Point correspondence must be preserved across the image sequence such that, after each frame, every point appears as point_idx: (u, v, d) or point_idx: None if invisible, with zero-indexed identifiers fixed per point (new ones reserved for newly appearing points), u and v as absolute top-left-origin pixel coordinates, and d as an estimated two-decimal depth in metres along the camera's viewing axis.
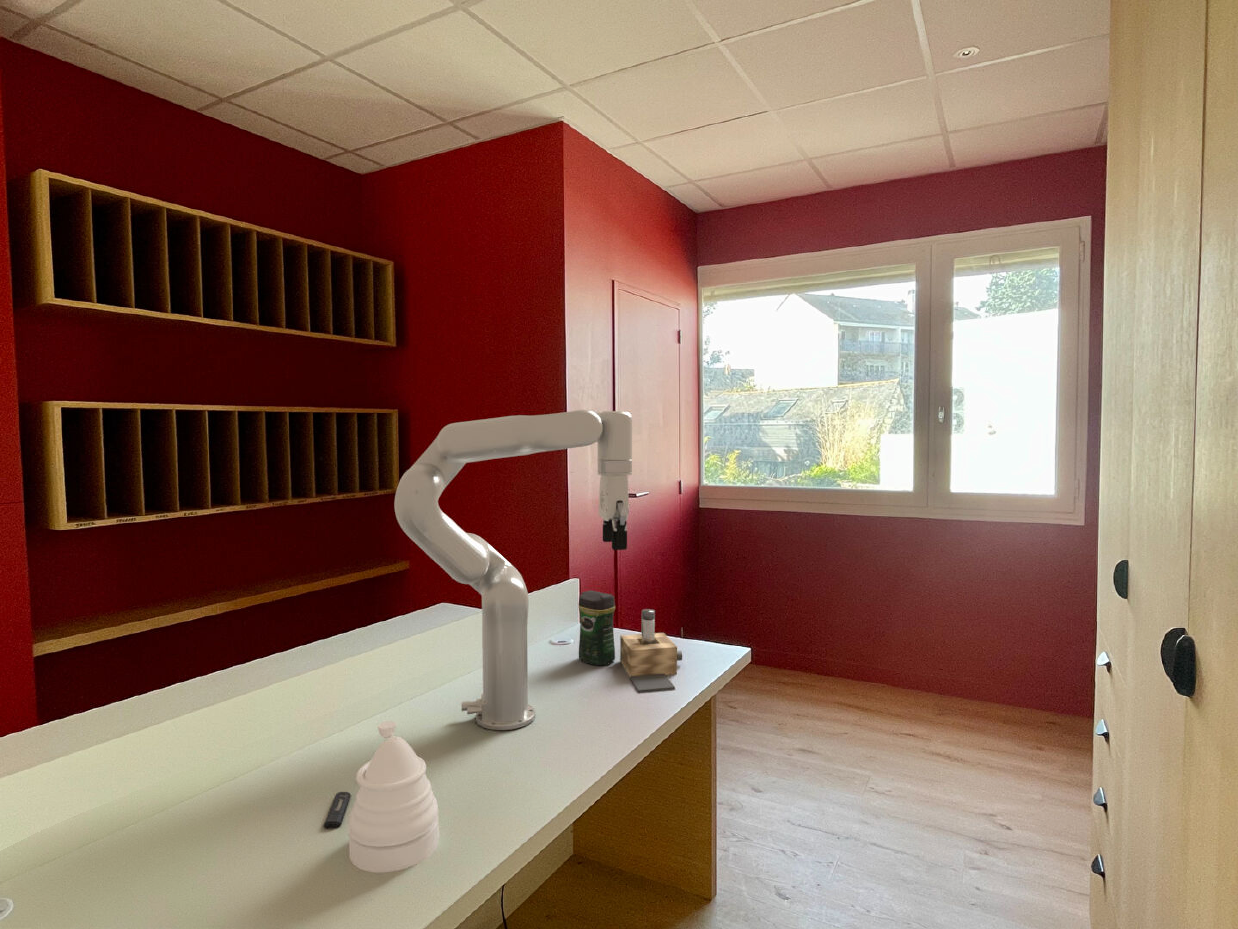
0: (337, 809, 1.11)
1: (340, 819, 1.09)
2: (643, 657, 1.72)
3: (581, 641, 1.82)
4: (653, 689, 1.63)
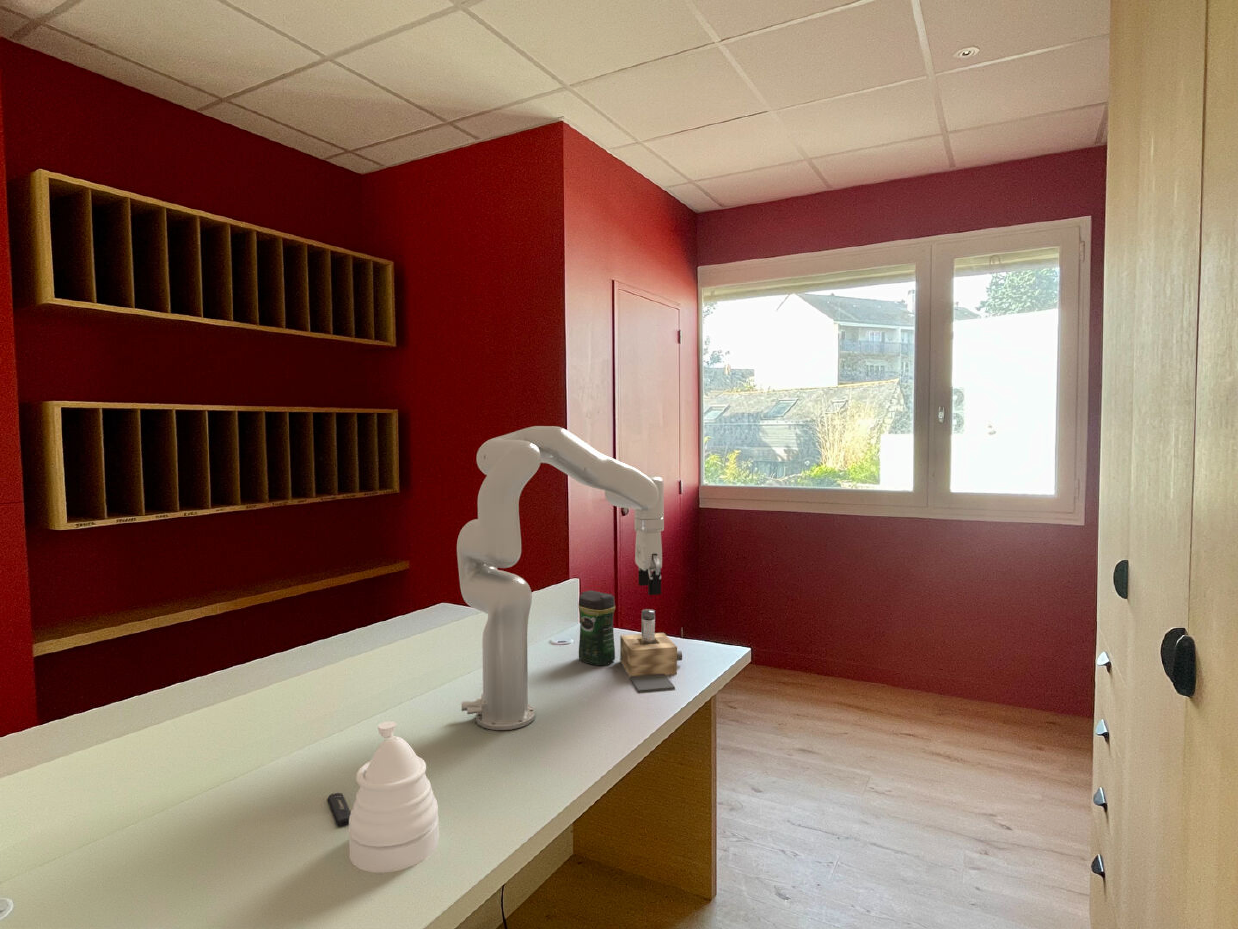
0: (341, 808, 1.12)
1: None
2: (643, 657, 1.72)
3: (581, 641, 1.82)
4: (653, 689, 1.63)
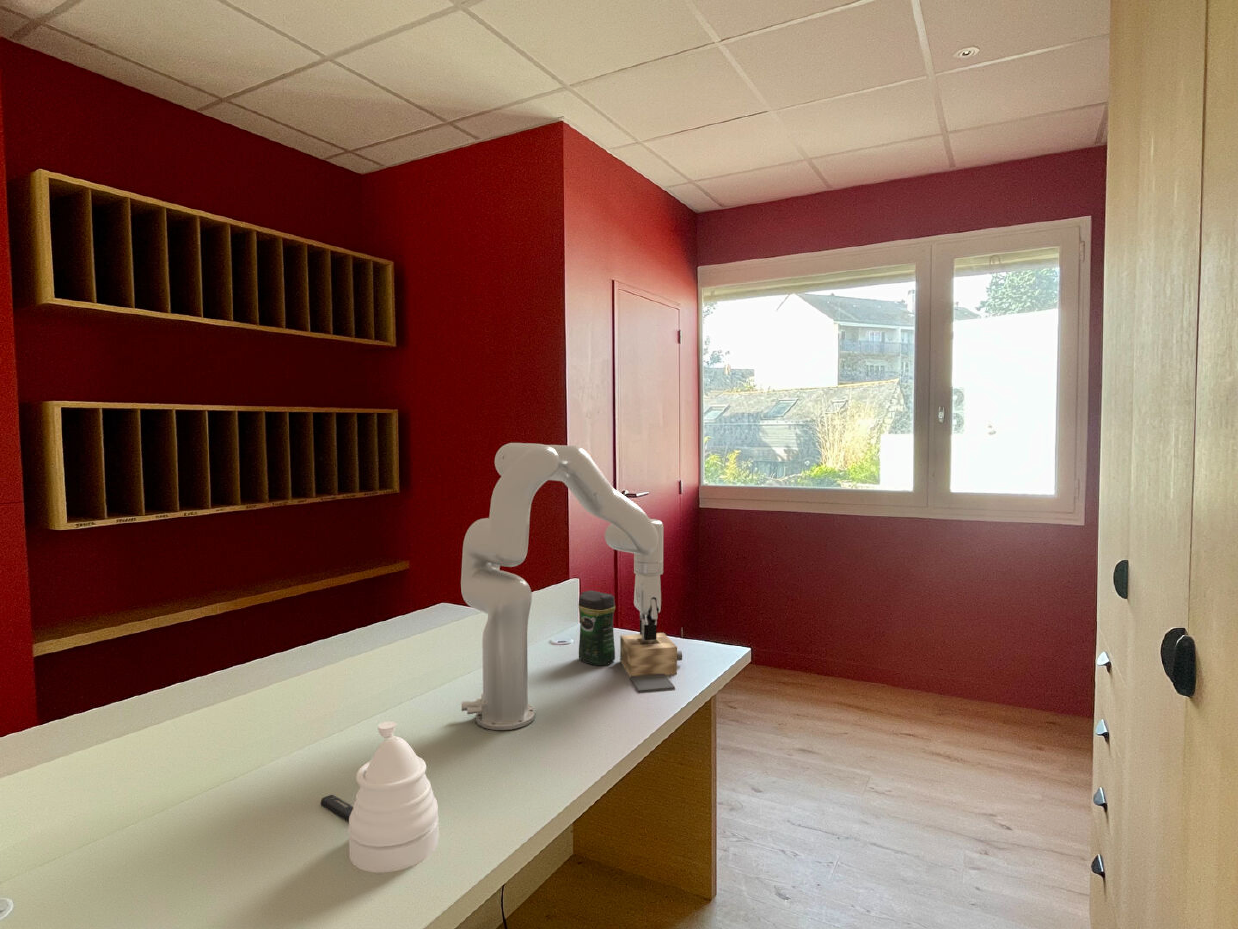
0: (345, 806, 1.12)
1: None
2: (643, 657, 1.72)
3: (581, 641, 1.82)
4: (653, 689, 1.63)
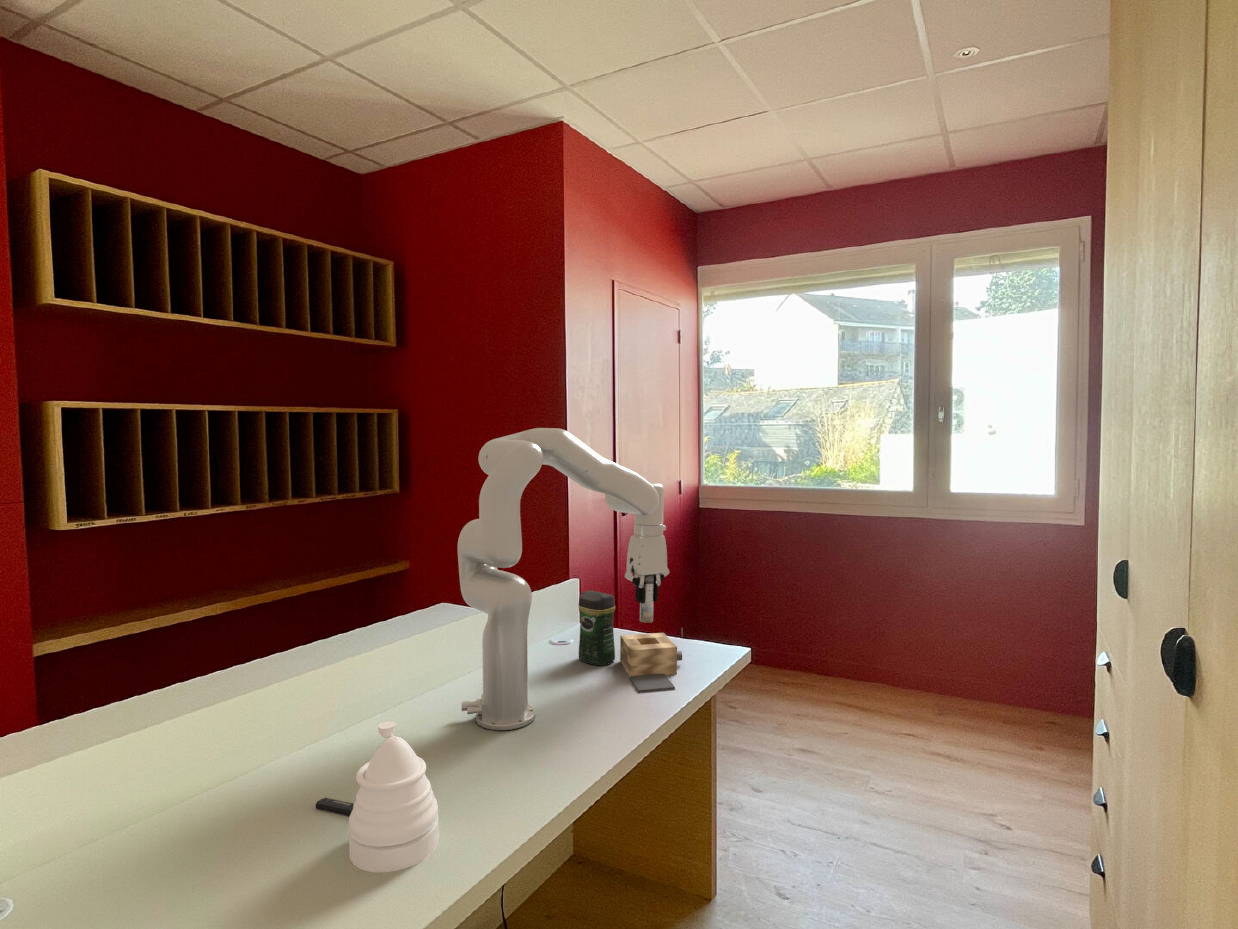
0: (348, 804, 1.13)
1: None
2: (643, 657, 1.72)
3: (581, 641, 1.82)
4: (653, 689, 1.63)
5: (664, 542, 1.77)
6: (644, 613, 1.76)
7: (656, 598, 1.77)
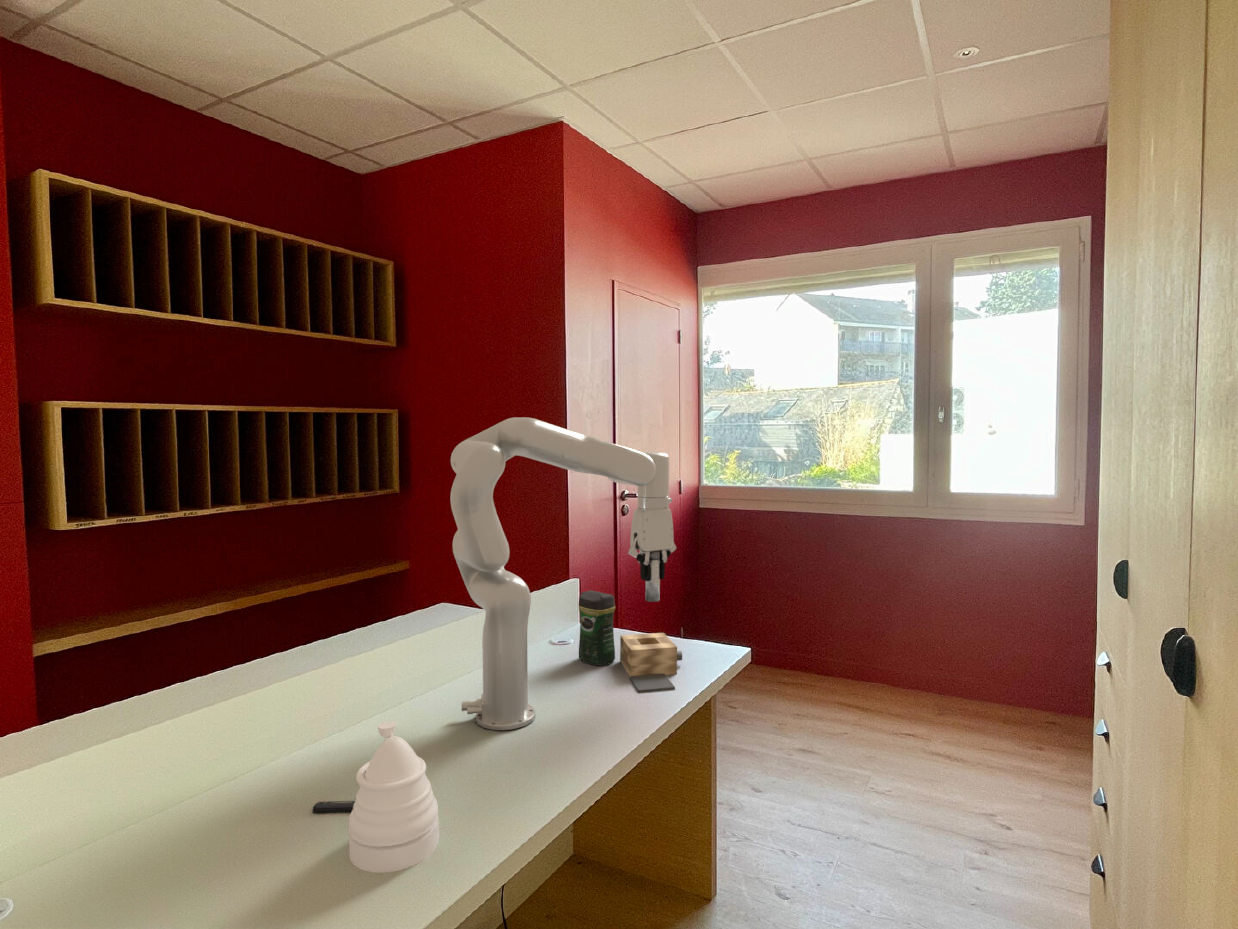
0: (349, 802, 1.13)
1: None
2: (643, 657, 1.72)
3: (581, 641, 1.82)
4: (653, 689, 1.63)
5: (670, 516, 1.65)
6: (650, 591, 1.64)
7: (662, 575, 1.65)
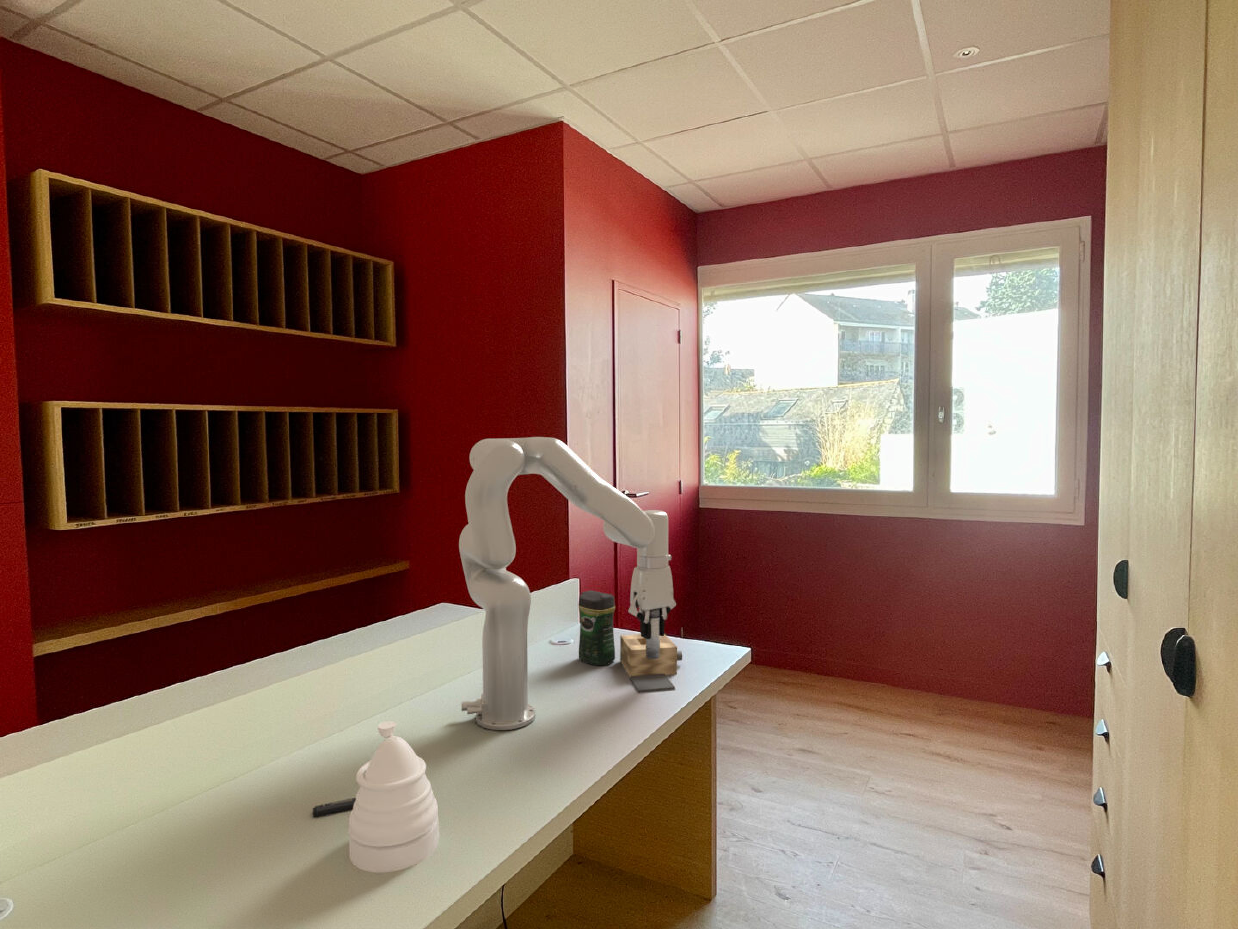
0: (350, 800, 1.14)
1: None
2: (643, 657, 1.72)
3: (581, 641, 1.82)
4: (653, 689, 1.63)
5: (670, 573, 1.66)
6: (650, 649, 1.65)
7: (662, 633, 1.66)
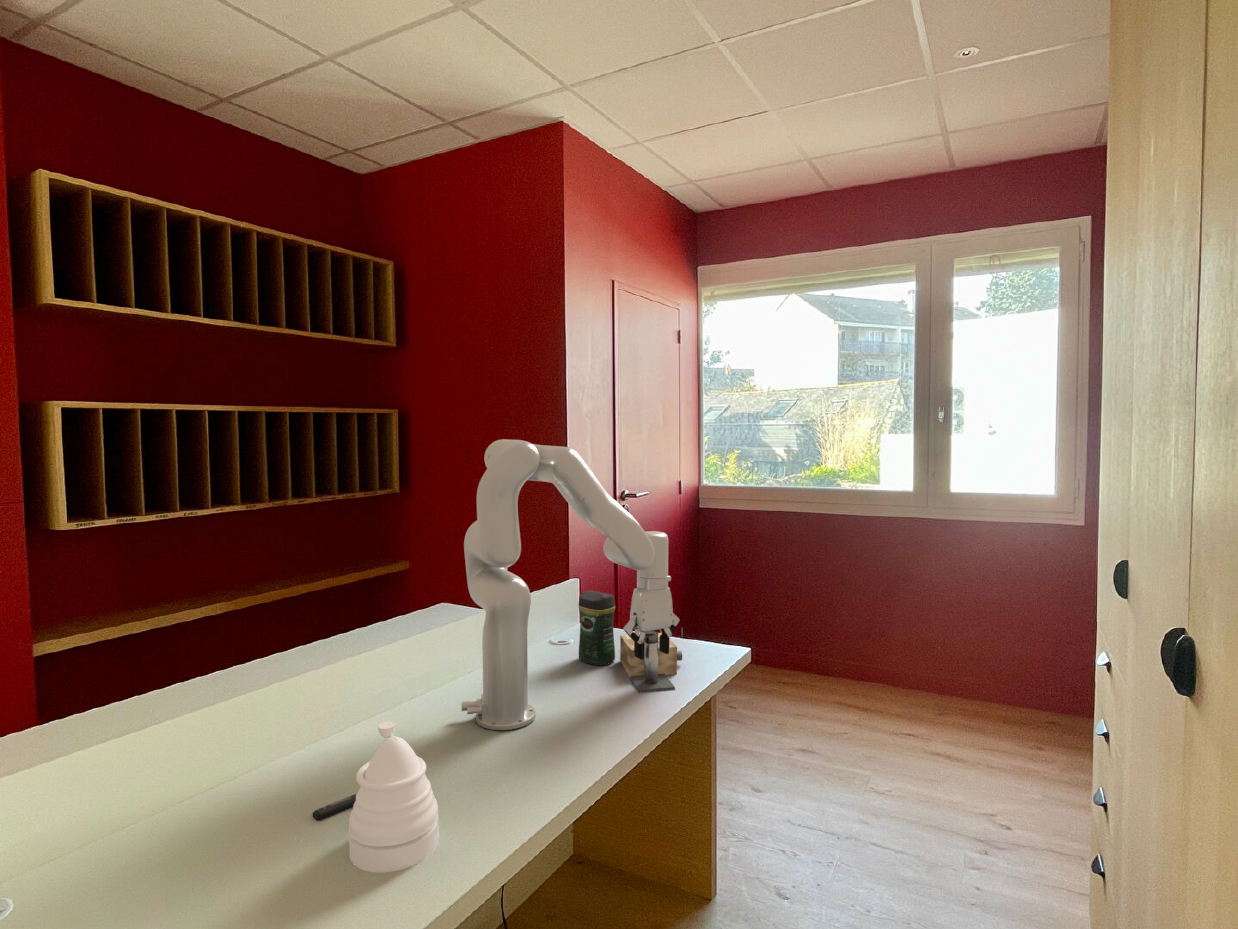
0: (348, 798, 1.14)
1: None
2: None
3: (581, 641, 1.82)
4: (653, 689, 1.63)
5: (669, 595, 1.66)
6: (648, 674, 1.66)
7: (667, 651, 1.68)
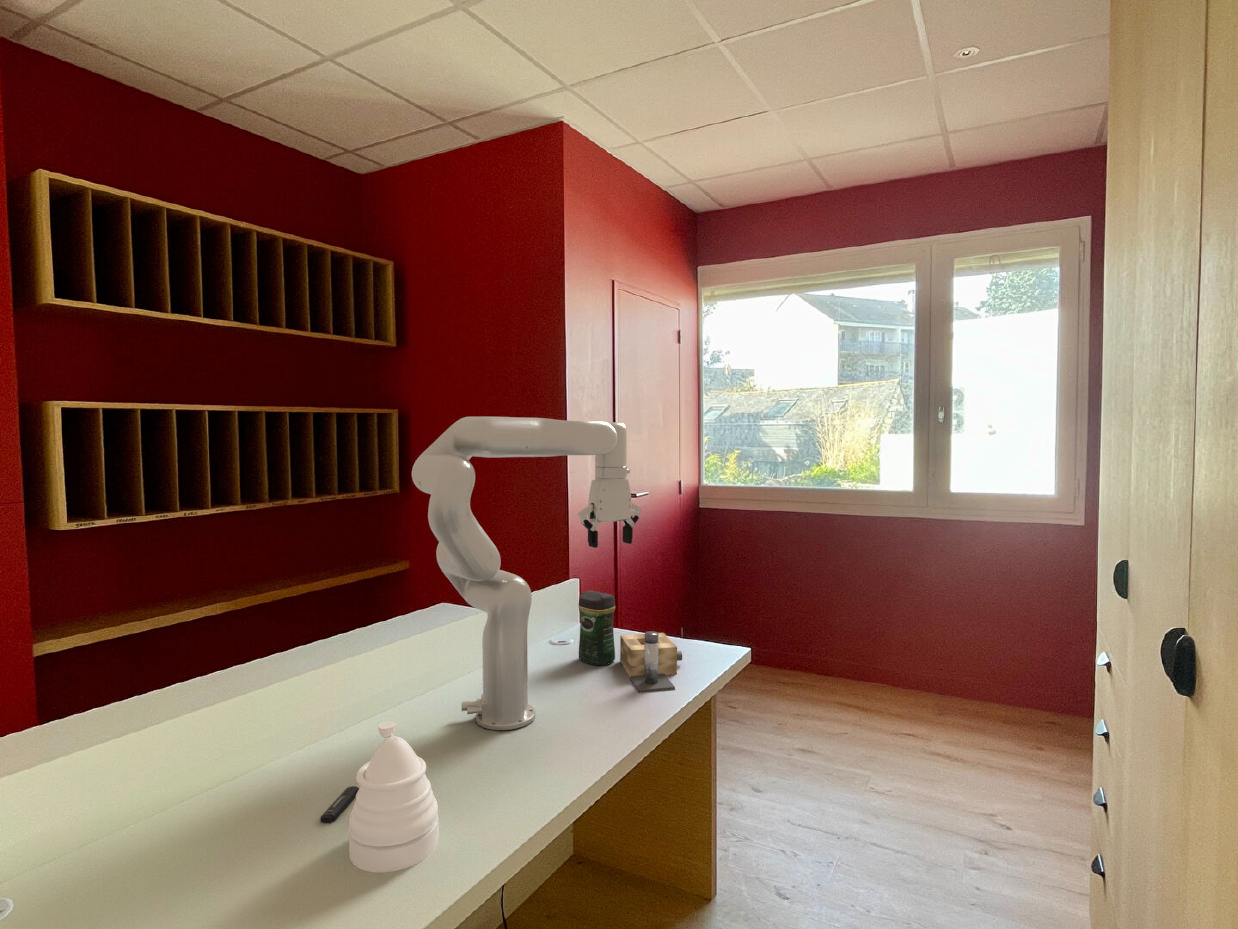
0: (342, 797, 1.15)
1: None
2: (643, 657, 1.72)
3: (581, 641, 1.82)
4: (653, 689, 1.63)
5: (628, 486, 1.64)
6: (648, 674, 1.66)
7: (630, 540, 1.66)
